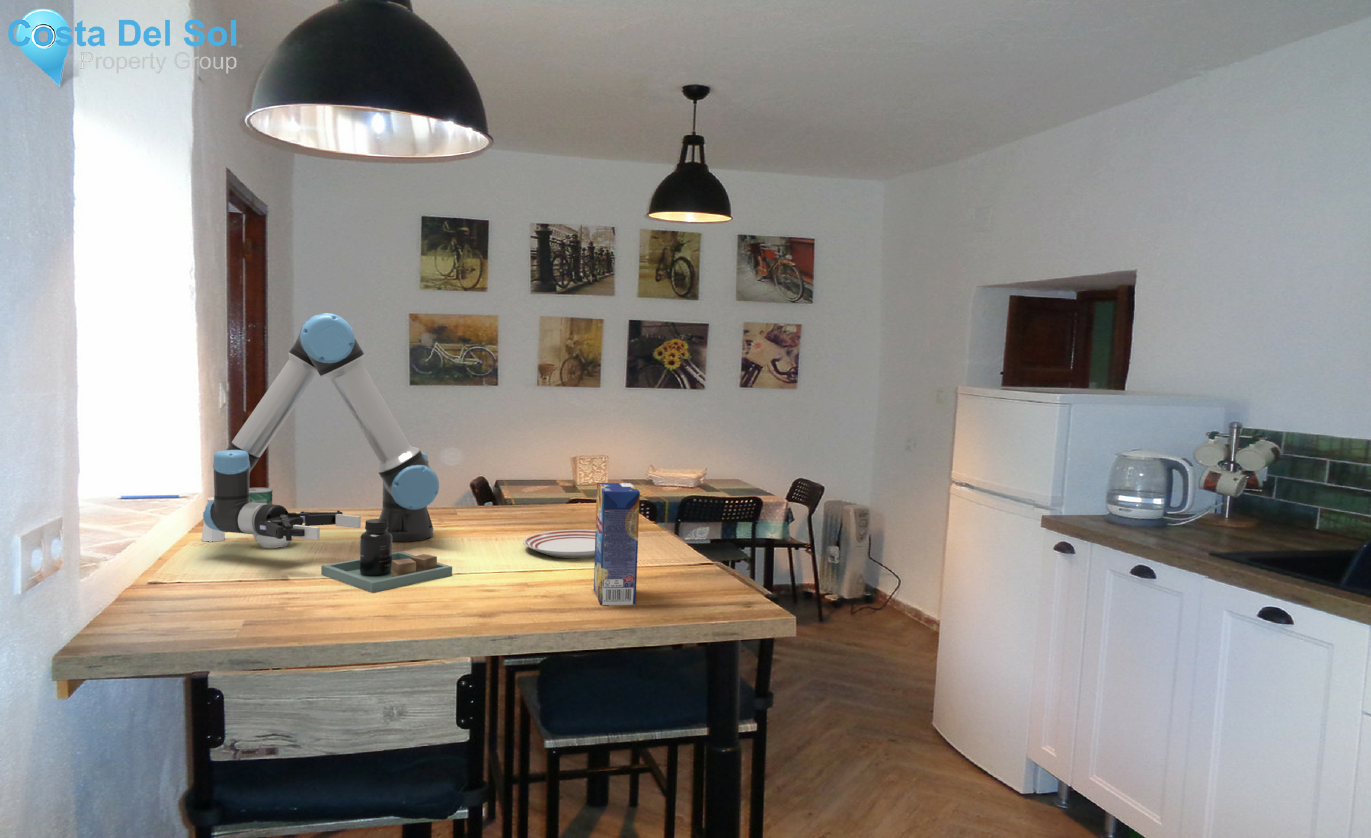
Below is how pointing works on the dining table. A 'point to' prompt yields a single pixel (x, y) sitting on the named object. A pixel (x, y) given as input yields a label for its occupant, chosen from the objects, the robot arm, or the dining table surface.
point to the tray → (352, 576)
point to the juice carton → (616, 543)
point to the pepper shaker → (211, 531)
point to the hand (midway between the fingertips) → (339, 527)
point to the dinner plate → (564, 543)
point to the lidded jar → (271, 541)
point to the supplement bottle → (376, 548)
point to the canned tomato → (261, 495)
